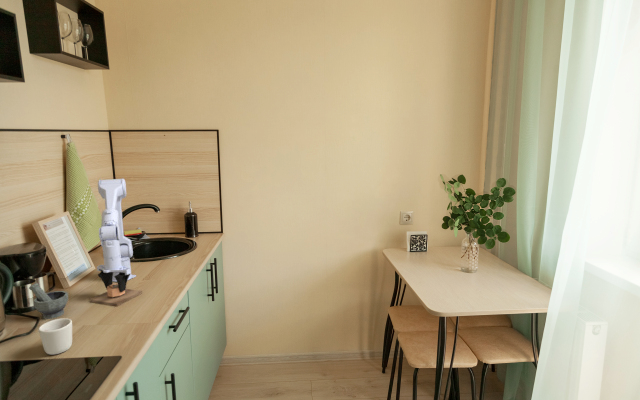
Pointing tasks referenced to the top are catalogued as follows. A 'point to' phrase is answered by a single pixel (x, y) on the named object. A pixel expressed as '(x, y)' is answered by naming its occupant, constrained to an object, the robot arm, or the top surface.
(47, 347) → the cup
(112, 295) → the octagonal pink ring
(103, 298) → the peg plate
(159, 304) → the top surface
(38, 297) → the mortar and pestle
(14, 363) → the top surface
